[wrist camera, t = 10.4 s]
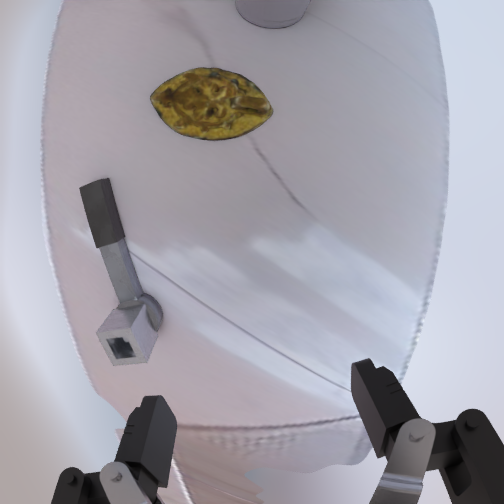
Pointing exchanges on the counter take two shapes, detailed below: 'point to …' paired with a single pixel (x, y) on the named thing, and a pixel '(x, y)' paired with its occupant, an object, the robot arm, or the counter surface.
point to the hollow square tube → (128, 335)
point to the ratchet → (115, 248)
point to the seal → (211, 104)
